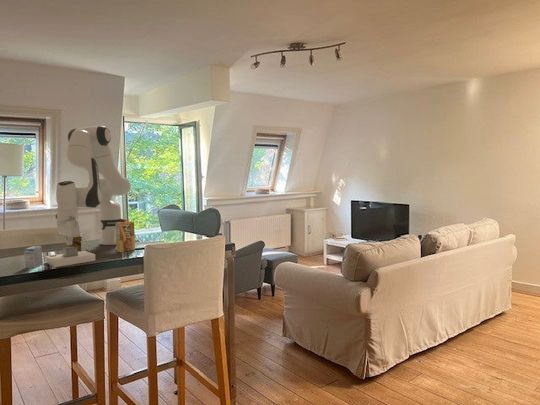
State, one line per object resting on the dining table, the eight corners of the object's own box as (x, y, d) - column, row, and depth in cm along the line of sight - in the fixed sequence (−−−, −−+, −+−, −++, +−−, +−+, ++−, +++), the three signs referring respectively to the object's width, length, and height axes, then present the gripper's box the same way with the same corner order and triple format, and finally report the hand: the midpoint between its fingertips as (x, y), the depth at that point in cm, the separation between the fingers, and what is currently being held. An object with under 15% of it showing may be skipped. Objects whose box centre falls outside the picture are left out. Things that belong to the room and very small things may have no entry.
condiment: (83, 253, 223) (82, 230, 222) (65, 255, 219) (64, 232, 218) (80, 251, 229) (79, 229, 228) (63, 253, 225) (62, 230, 224)
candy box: (131, 248, 232) (129, 221, 231) (135, 249, 230) (134, 221, 229) (116, 251, 226) (114, 222, 224) (121, 252, 223) (119, 223, 222)
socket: (85, 256, 214) (84, 249, 214) (95, 260, 204) (95, 253, 204) (45, 262, 202) (45, 255, 202) (55, 267, 192) (54, 259, 192)
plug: (74, 258, 207) (73, 246, 206) (78, 260, 203) (77, 247, 202) (63, 260, 203) (62, 247, 203) (66, 262, 200) (66, 249, 199)
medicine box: (33, 264, 199) (31, 246, 198) (43, 264, 199) (41, 245, 199) (24, 268, 191) (23, 249, 190) (35, 268, 191) (34, 248, 191)
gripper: (82, 216, 196) (84, 246, 197) (67, 213, 211) (69, 241, 212) (67, 217, 191) (69, 248, 192) (54, 215, 206) (55, 243, 208)
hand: (69, 244), depth 202 cm, fingers closed
